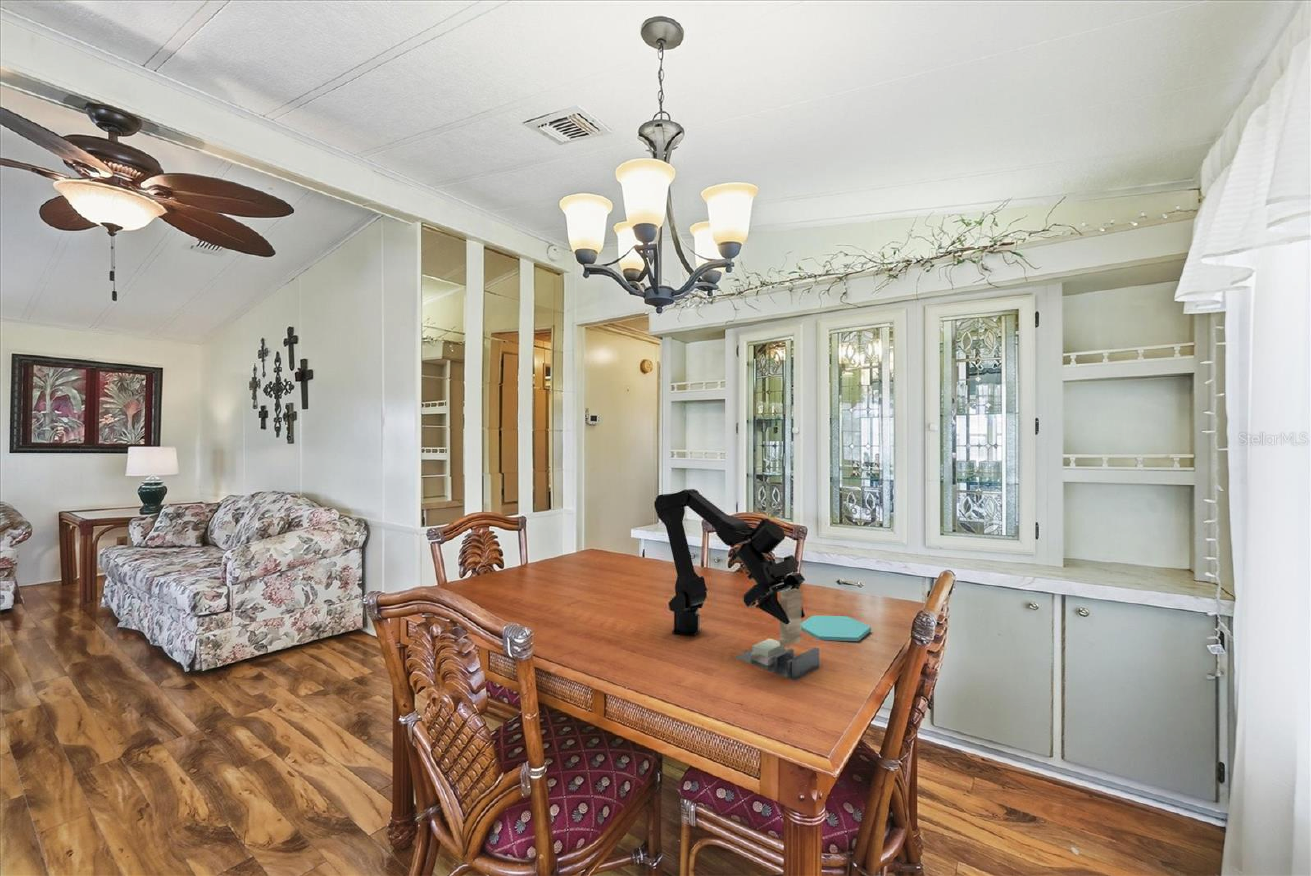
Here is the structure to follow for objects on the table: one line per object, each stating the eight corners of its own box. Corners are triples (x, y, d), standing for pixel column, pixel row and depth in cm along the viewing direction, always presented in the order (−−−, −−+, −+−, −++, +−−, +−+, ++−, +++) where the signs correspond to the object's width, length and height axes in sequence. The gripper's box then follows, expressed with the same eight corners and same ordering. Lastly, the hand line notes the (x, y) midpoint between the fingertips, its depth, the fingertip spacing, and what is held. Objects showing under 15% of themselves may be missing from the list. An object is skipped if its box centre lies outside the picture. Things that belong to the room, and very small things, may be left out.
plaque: (800, 643, 146) (877, 646, 142) (799, 635, 146) (877, 638, 142) (796, 620, 163) (865, 623, 159) (796, 614, 163) (865, 616, 159)
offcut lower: (750, 659, 130) (750, 653, 130) (770, 650, 135) (770, 644, 135) (768, 665, 126) (768, 659, 126) (787, 656, 132) (787, 650, 132)
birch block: (779, 644, 125) (780, 593, 125) (794, 638, 129) (794, 588, 129) (787, 647, 123) (787, 595, 123) (801, 640, 128) (801, 590, 128)
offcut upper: (752, 651, 131) (752, 645, 131) (769, 644, 135) (769, 638, 135) (768, 657, 127) (768, 651, 127) (784, 649, 132) (784, 643, 132)
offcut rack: (734, 661, 131) (734, 640, 131) (763, 648, 139) (763, 629, 139) (795, 685, 119) (795, 662, 119) (823, 669, 127) (823, 648, 127)
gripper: (753, 550, 123) (795, 610, 115) (798, 540, 135) (838, 593, 127) (726, 578, 128) (764, 637, 120) (771, 565, 141) (808, 618, 133)
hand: (796, 620), depth 125 cm, fingers closed on birch block, 6 cm apart
